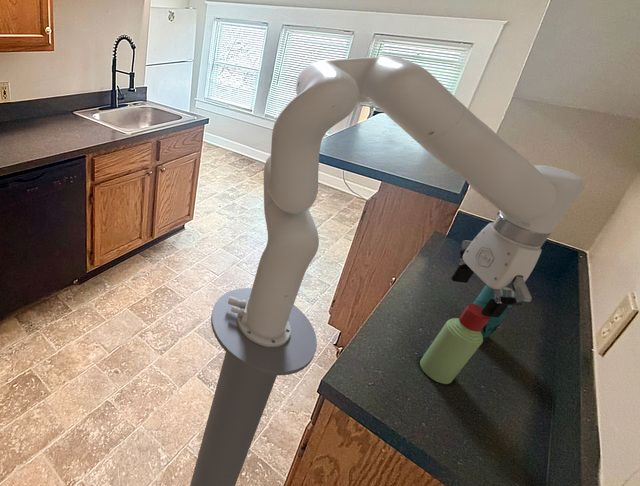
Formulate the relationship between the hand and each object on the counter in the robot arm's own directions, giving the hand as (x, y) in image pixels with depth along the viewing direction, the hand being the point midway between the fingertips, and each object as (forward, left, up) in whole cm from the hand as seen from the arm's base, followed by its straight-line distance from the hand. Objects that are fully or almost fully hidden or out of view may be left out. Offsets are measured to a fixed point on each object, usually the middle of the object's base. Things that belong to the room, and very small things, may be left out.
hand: (473, 297), depth 79 cm
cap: (0, -4, -4) cm, 6 cm away
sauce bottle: (0, -3, -19) cm, 20 cm away
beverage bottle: (+12, +15, -20) cm, 27 cm away
